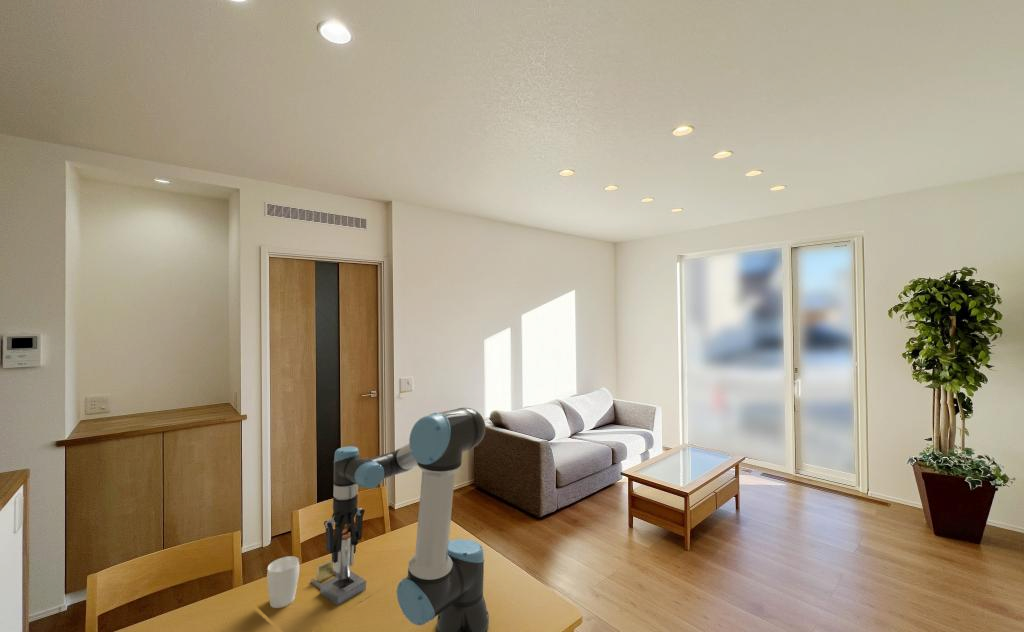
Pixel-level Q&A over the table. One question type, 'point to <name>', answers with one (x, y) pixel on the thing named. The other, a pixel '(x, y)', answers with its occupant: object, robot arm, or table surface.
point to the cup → (282, 581)
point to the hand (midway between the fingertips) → (343, 567)
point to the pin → (345, 554)
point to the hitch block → (332, 586)
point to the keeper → (324, 570)
